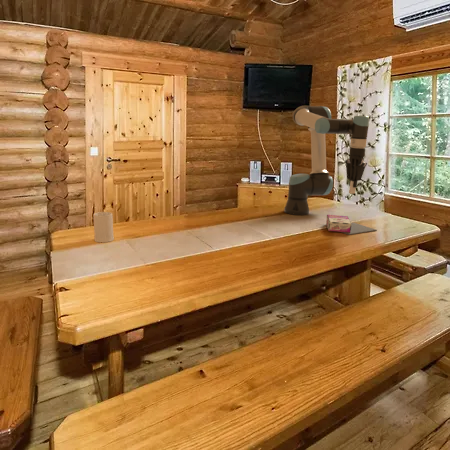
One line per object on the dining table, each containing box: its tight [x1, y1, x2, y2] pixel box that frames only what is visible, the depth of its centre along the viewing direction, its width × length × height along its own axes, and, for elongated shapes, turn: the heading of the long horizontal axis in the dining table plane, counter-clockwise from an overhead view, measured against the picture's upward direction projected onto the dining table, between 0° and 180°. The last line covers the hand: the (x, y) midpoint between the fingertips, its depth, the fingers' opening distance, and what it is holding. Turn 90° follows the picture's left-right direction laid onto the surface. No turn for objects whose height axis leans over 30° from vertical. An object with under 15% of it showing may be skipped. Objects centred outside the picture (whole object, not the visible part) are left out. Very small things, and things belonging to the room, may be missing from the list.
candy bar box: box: [325, 214, 352, 233], centre depth 207 cm, size 11×5×16 cm
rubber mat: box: [326, 222, 378, 236], centre depth 208 cm, size 16×20×1 cm
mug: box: [93, 211, 115, 244], centre depth 178 cm, size 12×8×12 cm
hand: (352, 193), depth 206 cm, fingers closed
